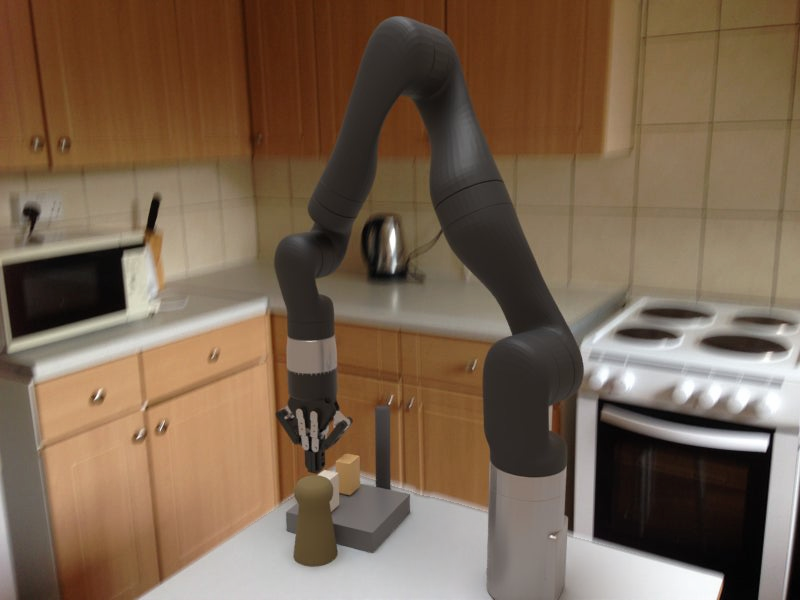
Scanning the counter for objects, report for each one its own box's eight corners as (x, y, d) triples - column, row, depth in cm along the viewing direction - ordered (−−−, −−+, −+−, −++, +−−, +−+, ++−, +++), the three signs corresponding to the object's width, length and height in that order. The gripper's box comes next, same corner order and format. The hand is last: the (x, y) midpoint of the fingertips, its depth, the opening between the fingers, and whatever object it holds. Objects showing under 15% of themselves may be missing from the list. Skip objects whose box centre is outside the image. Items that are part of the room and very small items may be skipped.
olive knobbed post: (341, 543, 103) (339, 470, 100) (333, 567, 97) (331, 490, 94) (299, 541, 103) (296, 468, 101) (288, 565, 97) (285, 488, 95)
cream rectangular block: (339, 504, 107) (338, 472, 106) (328, 514, 104) (327, 481, 103) (325, 501, 108) (324, 469, 107) (313, 511, 105) (312, 478, 104)
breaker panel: (409, 512, 111) (409, 494, 111) (372, 552, 100) (372, 532, 100) (330, 494, 117) (329, 477, 116) (286, 530, 106) (285, 511, 105)
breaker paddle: (360, 486, 113) (359, 456, 112) (350, 495, 110) (349, 464, 109) (346, 483, 114) (345, 453, 113) (336, 492, 111) (335, 461, 110)
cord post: (393, 488, 119) (392, 406, 116) (386, 494, 117) (386, 411, 114) (379, 485, 120) (379, 404, 117) (373, 491, 118) (372, 409, 115)
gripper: (362, 362, 111) (364, 469, 114) (288, 352, 116) (292, 455, 120) (338, 376, 104) (340, 489, 107) (261, 365, 109) (265, 473, 113)
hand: (315, 471), depth 114 cm, fingers closed
